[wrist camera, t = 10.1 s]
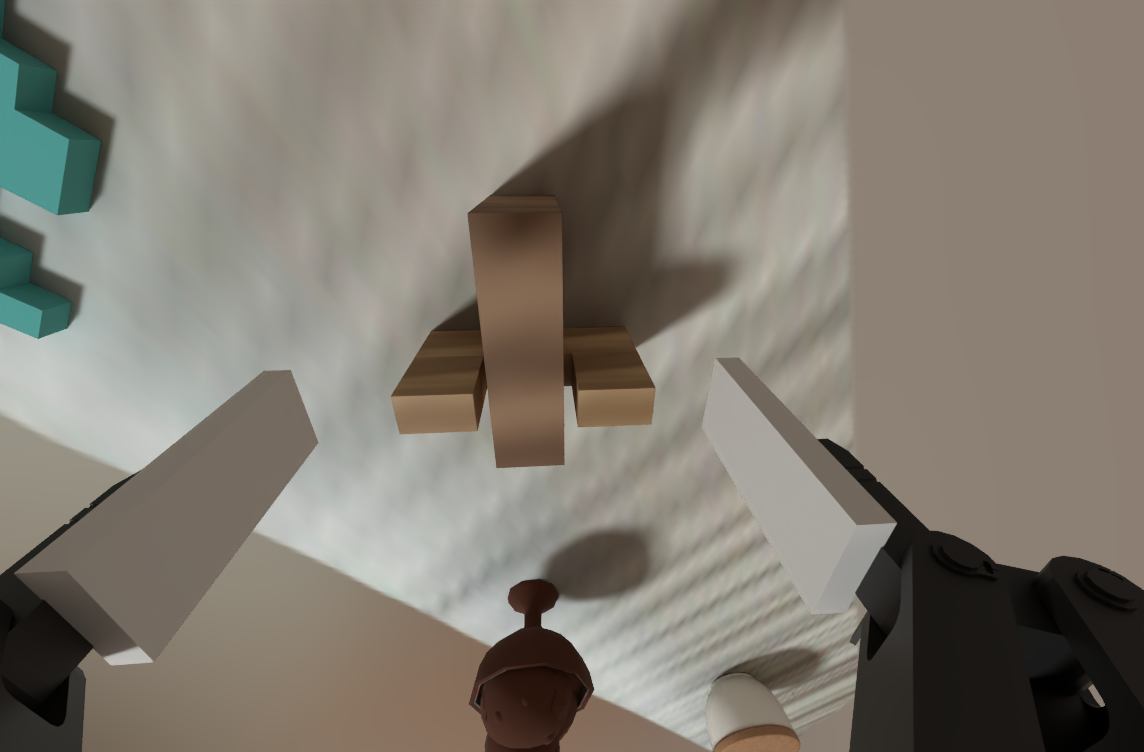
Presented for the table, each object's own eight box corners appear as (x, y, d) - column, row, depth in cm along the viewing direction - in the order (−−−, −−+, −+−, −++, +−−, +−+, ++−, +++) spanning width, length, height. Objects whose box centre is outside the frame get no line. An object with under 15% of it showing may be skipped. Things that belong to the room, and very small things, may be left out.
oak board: (431, 331, 29) (390, 396, 21) (624, 326, 30) (655, 387, 22) (436, 361, 30) (399, 434, 22) (622, 356, 31) (651, 424, 23)
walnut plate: (490, 195, 25) (467, 213, 17) (554, 195, 25) (561, 212, 17) (507, 390, 32) (496, 468, 24) (558, 388, 32) (564, 464, 24)
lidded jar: (681, 699, 58) (705, 789, 50) (717, 659, 53) (750, 750, 45) (744, 705, 60) (777, 791, 52) (784, 667, 56) (827, 755, 48)
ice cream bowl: (585, 618, 47) (604, 798, 34) (489, 629, 47) (470, 815, 33) (581, 558, 42) (601, 742, 29) (473, 569, 41) (443, 761, 28)
